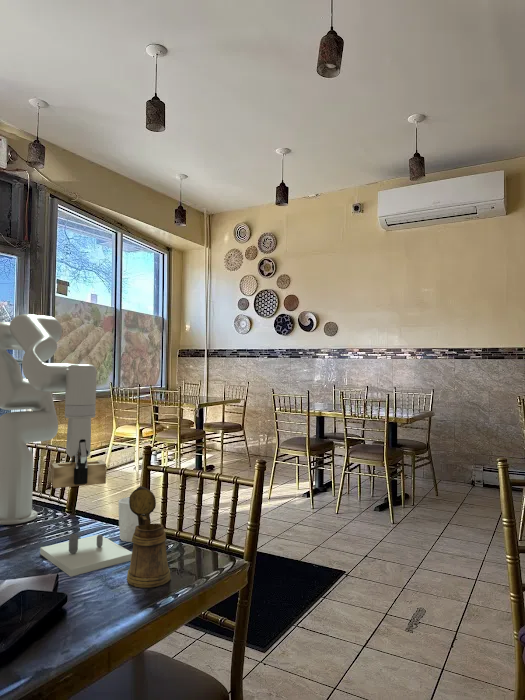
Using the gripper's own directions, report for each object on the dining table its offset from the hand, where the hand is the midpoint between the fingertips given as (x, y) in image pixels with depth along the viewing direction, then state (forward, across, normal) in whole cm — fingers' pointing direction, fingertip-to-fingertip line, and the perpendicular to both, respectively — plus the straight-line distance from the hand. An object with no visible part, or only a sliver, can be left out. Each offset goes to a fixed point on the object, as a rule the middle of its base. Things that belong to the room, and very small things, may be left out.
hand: (78, 480), depth 130 cm
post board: (+16, +11, +1) cm, 19 cm away
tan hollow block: (+1, 0, 0) cm, 1 cm away
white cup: (+16, +2, +14) cm, 21 cm away
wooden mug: (+16, +28, +10) cm, 34 cm away
